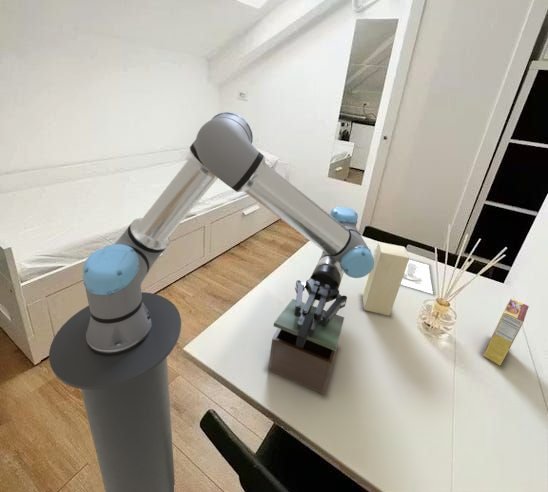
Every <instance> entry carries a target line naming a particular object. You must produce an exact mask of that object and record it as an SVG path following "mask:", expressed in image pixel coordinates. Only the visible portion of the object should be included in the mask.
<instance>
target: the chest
mask: <svg viewBox="0 0 548 492" xmlns="http://www.w3.org/2000/svg"><path fill="white" fill-rule="evenodd" d="M341 333H342V331H341V332H340V334H341ZM340 337H341V335H340V336H339V338H340ZM339 340H340V339H339ZM339 340H338V342H339ZM296 341H297V335H294V334H292V333H289V332H287V331H284V330H282V329H279V328H276V331H275V333H274V335H273V337H272V339H271V345H270V351H269V361H268V368H267V370H268V371H270V372H273V373H275V374H277V375H279V376H281V377H283V378H286V379H288V380H291V381H293V382H294V383H297V384H299V385H300V386H303V387H305V388H307V389H310V390H313V391H315V392H317V393H319V394H321V395H322V396H324V395H326V390H327V386H328V382H329V379H330V375H331V371H332V368H333V364H334V359H335V356H336V352H337V348H338V344H339V343H338V344H337V347H336V351H334V350H332V349H329V348H327V347H324V346H322V345H319V344H317V343H314V342H312V341H309V340H307V339H306V341H305V344H304V346H303V348H301V347H298V346H296Z"/></svg>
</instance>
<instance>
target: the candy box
mask: <svg viewBox="0 0 548 492" xmlns="http://www.w3.org/2000/svg"><path fill="white" fill-rule="evenodd" d="M529 307H530V306H529V305H527V304H525V303H523V302H521V301H519V300H516V299H514V298H510V299H509V301H508V303H507V304H506V306H505V309H504V311H503V313H502V315H501V317H500V319H499V321H498V323H497V325H496V327H495V329H494V331H493V333H492V335H491V337H490V340H489V342H488V344H487V346H486V348H485V351H484V353H483V355H482V356H483V357H484V358H486V359H487V360H489V361H490V362H492V363H494V364H496V365H497V366H501V365H502V363H503V362H504V360H505V358H506V356H507V354H508V352H509V351H510V348H511V347H512V345H513V343H514V341H515V339H516V337H517V336H518V334H519V332H520V330H521V328H522V326H523V324H524V322H525V319H526V317H527V316H526V315H527V312H528V309H529Z"/></svg>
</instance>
